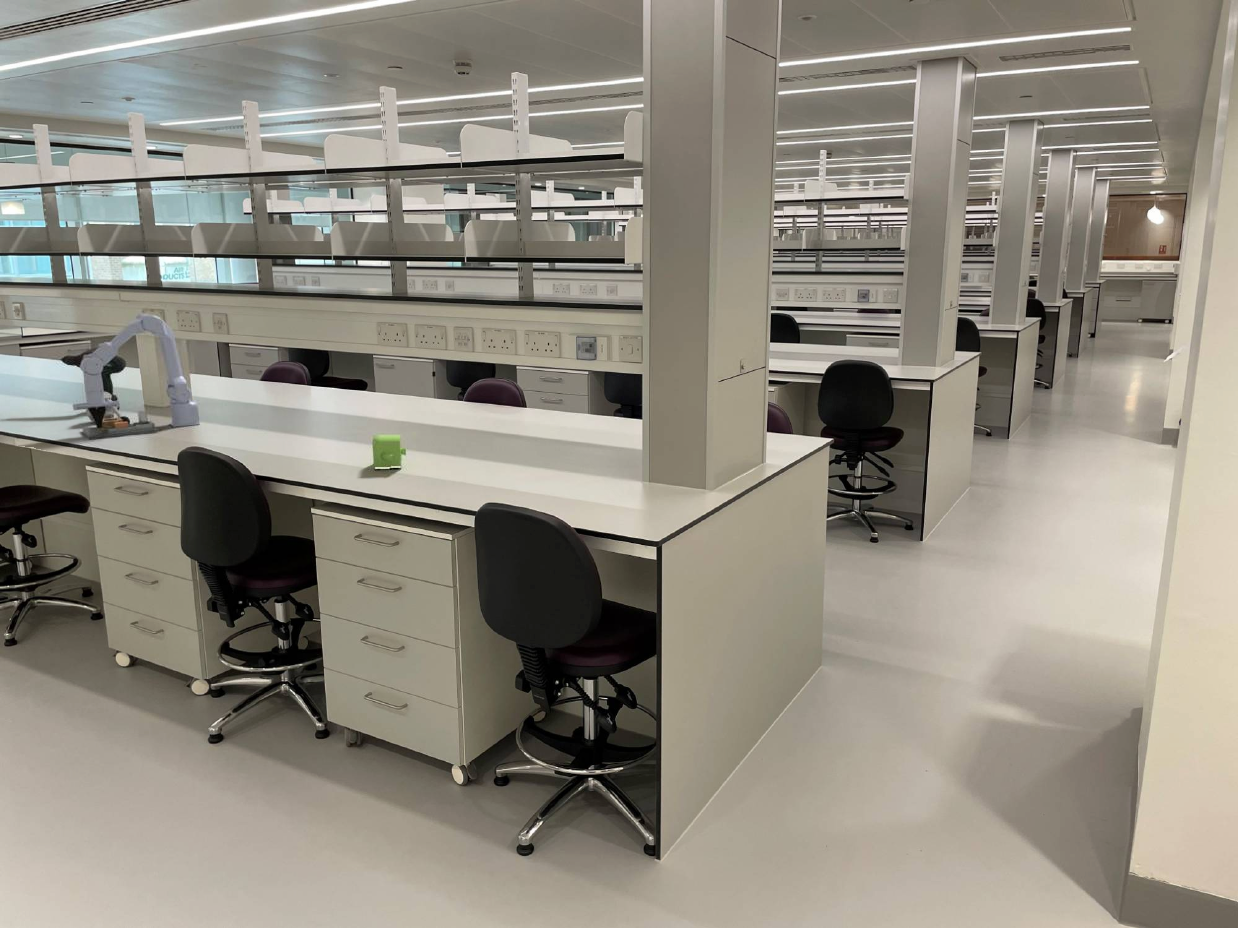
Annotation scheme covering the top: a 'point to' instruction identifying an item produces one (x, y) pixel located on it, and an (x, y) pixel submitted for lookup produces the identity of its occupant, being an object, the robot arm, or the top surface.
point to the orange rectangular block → (121, 424)
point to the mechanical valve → (109, 411)
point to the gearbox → (387, 450)
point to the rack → (110, 422)
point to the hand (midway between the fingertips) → (99, 427)
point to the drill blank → (142, 417)
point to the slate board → (120, 431)
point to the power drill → (111, 367)
